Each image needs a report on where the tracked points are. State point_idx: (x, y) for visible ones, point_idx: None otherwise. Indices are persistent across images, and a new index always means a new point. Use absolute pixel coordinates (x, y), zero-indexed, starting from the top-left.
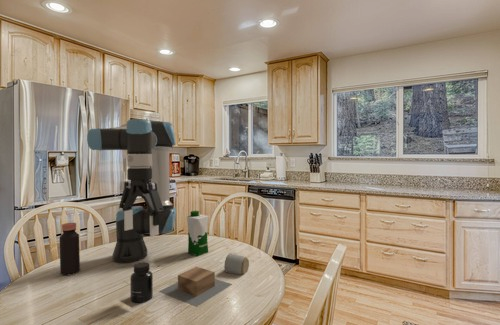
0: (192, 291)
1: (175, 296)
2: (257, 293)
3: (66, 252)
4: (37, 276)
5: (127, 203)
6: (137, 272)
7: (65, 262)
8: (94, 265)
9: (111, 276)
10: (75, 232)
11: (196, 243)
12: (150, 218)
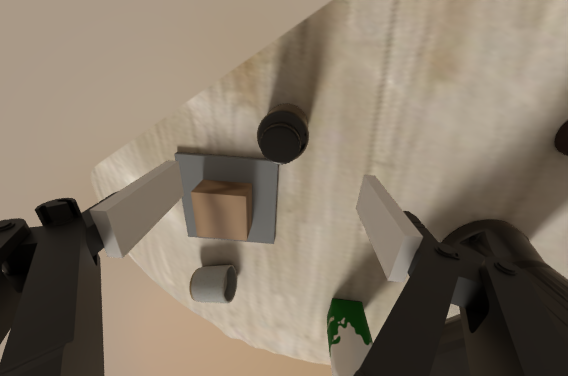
0: (211, 183)
1: (234, 162)
2: None
3: None
4: None
5: (404, 290)
6: (273, 122)
7: None
8: (537, 186)
9: (441, 166)
10: None
11: (340, 322)
12: (111, 200)
